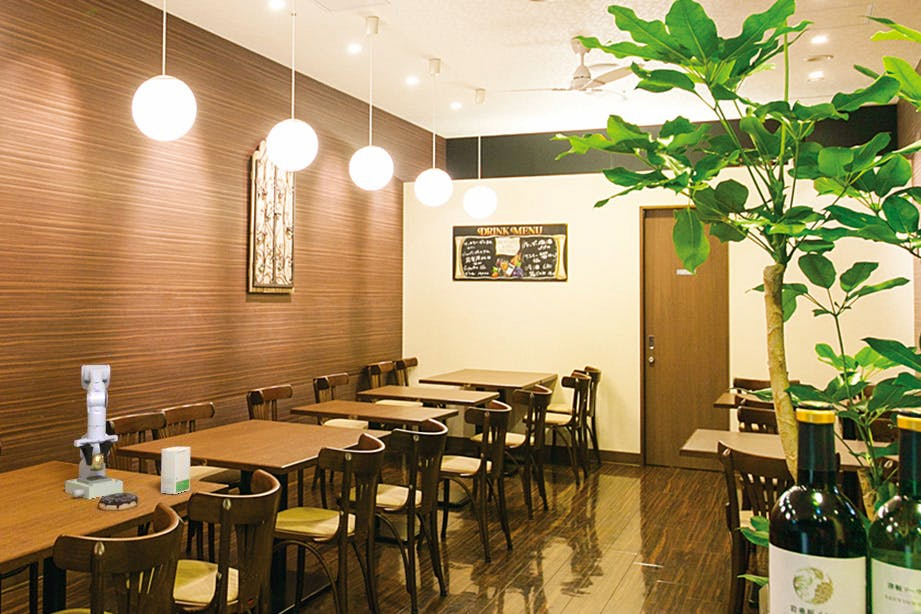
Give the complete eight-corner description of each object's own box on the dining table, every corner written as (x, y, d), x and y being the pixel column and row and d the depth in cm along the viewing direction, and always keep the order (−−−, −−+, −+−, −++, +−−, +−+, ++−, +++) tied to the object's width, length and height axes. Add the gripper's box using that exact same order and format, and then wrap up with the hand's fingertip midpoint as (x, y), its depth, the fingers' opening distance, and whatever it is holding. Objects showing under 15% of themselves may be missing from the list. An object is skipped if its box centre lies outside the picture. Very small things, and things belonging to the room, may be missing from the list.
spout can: (86, 470, 256) (87, 454, 256) (98, 467, 260) (98, 452, 260) (97, 471, 254) (97, 456, 254) (108, 469, 258) (108, 453, 258)
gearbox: (56, 493, 254) (56, 479, 254) (98, 486, 267) (99, 472, 267) (80, 501, 245) (80, 486, 245) (122, 492, 257) (123, 478, 257)
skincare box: (174, 495, 254) (175, 450, 255) (159, 493, 257) (160, 449, 257) (190, 490, 262) (191, 446, 263) (175, 488, 265) (176, 445, 265)
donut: (110, 502, 245) (110, 490, 245) (145, 503, 244) (145, 491, 244) (92, 511, 233) (92, 499, 234) (128, 512, 233) (128, 500, 233)
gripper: (82, 429, 249) (81, 469, 249) (122, 424, 261) (121, 462, 261) (71, 427, 253) (70, 466, 253) (111, 422, 265) (111, 459, 265)
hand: (95, 464), depth 257 cm, fingers closed on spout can, 4 cm apart
